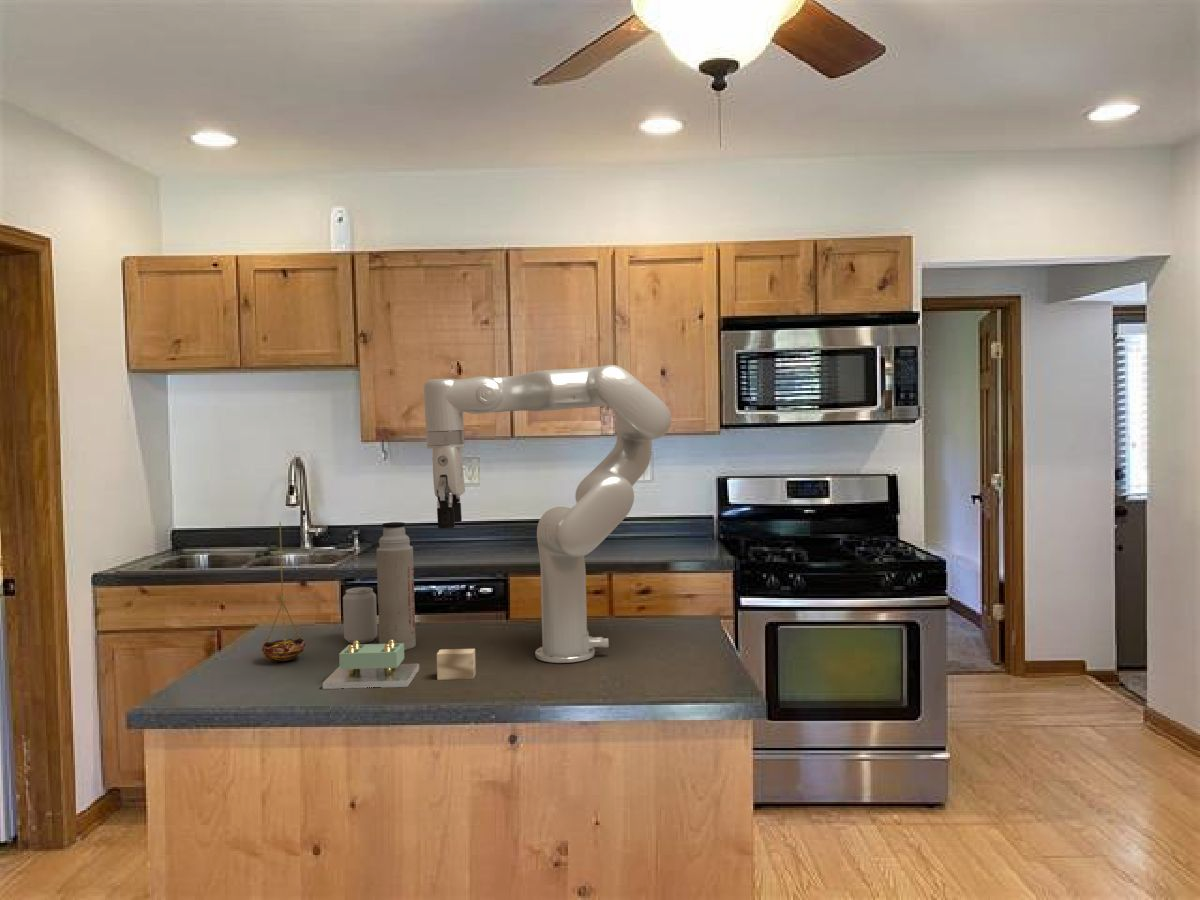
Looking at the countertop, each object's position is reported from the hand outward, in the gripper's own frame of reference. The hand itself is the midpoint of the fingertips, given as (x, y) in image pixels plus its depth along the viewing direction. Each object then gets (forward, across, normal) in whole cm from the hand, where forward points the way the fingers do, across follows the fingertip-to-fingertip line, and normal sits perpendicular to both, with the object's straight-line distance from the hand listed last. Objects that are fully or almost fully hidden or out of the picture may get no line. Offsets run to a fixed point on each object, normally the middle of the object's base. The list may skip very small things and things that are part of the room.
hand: (450, 524), depth 180 cm
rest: (+29, -6, 0) cm, 30 cm away
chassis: (+29, -6, +16) cm, 34 cm away
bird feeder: (+29, +10, +38) cm, 49 cm away
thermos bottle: (+29, +20, +16) cm, 39 cm away
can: (+29, +27, +26) cm, 48 cm away
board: (+26, -6, +16) cm, 31 cm away
